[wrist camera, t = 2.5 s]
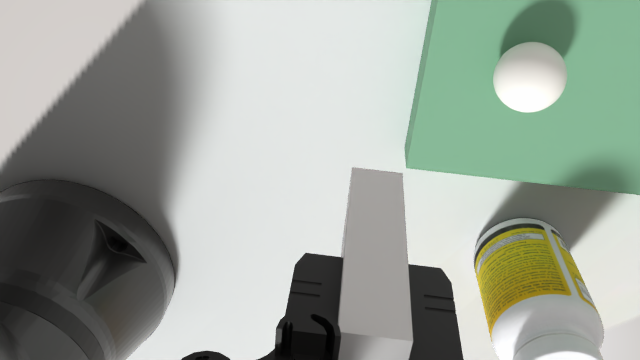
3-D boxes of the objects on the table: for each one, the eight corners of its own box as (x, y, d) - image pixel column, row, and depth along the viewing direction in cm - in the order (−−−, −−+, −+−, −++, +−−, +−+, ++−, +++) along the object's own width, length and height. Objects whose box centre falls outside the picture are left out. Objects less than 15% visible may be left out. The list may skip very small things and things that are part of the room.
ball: (481, 92, 31) (492, 119, 28) (496, 29, 29) (510, 51, 26) (545, 99, 31) (563, 128, 28) (565, 36, 29) (586, 59, 26)
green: (404, 148, 36) (406, 168, 34) (449, -95, 29) (454, -89, 27) (757, 188, 35) (781, 211, 33) (895, -50, 28) (937, -41, 26)
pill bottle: (455, 267, 41) (479, 398, 31) (501, 201, 38) (542, 324, 28) (532, 295, 41) (578, 431, 32) (583, 233, 38) (650, 364, 29)
